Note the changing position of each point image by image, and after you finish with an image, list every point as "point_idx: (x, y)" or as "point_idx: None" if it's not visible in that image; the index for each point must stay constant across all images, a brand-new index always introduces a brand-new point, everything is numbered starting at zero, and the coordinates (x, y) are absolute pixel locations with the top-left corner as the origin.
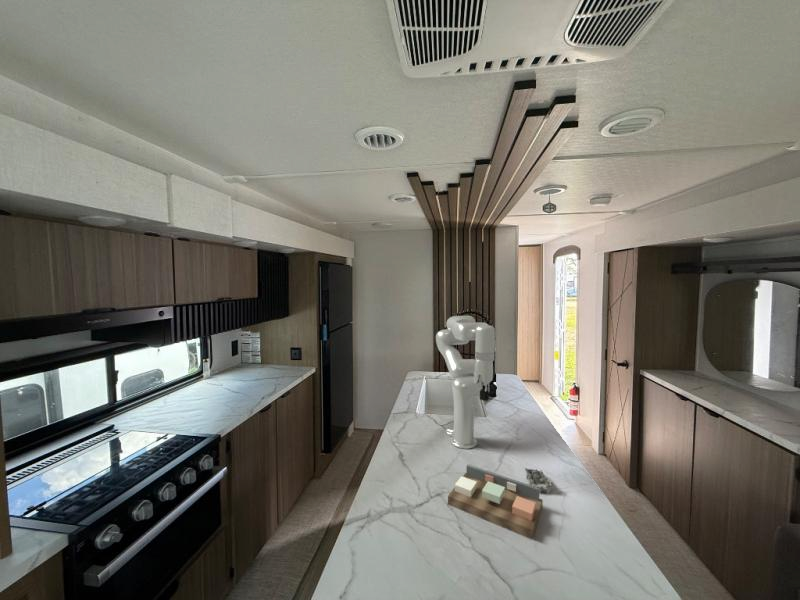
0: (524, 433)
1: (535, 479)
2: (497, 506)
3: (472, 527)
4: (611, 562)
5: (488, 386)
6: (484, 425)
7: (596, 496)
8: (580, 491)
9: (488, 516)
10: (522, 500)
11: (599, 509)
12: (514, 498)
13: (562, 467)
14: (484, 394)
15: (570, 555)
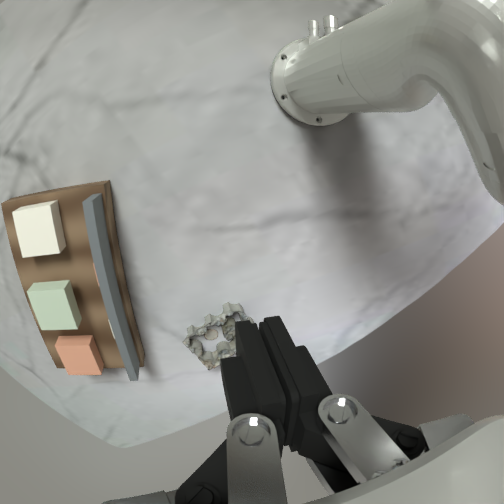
0: (430, 228)
1: (222, 328)
2: None
3: (4, 272)
4: (113, 423)
5: (330, 478)
6: (432, 118)
7: None
8: None
9: None
10: (85, 356)
11: (213, 407)
12: (101, 327)
13: (317, 341)
14: (231, 420)
15: (81, 394)
